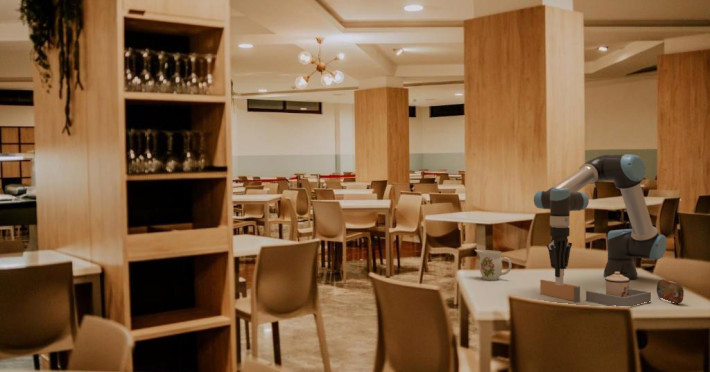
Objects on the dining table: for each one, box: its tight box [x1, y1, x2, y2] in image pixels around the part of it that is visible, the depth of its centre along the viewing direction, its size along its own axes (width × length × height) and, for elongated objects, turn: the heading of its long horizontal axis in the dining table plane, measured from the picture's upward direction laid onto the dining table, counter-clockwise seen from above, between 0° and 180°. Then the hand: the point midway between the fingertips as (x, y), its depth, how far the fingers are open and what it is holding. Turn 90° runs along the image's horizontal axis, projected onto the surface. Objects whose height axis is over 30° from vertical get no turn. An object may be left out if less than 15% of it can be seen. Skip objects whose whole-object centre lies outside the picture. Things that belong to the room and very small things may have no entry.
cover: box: [539, 279, 581, 302], centre depth 264 cm, size 19×1×6 cm, turn 35°
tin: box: [656, 279, 685, 304], centre depth 254 cm, size 15×3×8 cm, turn 5°
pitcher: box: [474, 249, 512, 281], centre depth 306 cm, size 11×18×14 cm, turn 62°
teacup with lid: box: [604, 272, 631, 297], centre depth 255 cm, size 12×9×12 cm
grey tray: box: [573, 286, 652, 307], centre depth 255 cm, size 23×19×6 cm
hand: (559, 284), depth 256 cm, fingers closed
